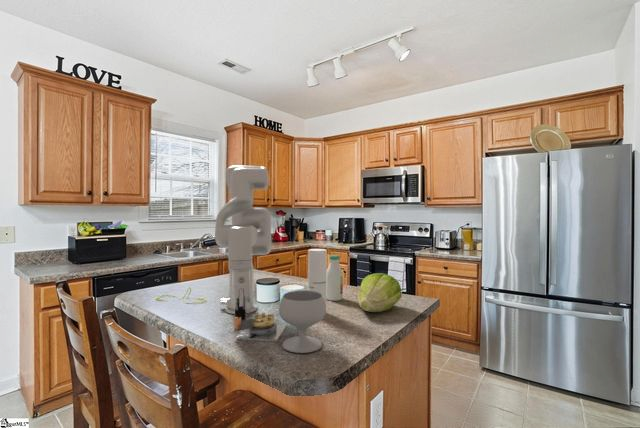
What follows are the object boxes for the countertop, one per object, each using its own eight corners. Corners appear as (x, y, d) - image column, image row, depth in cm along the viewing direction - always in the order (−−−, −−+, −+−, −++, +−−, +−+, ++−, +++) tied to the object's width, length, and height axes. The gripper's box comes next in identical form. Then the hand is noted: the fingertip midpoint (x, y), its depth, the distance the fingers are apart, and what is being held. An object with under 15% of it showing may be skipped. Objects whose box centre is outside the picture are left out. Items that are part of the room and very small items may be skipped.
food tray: (267, 319, 111) (268, 307, 111) (278, 325, 105) (278, 313, 105) (229, 327, 103) (229, 314, 103) (238, 334, 97) (238, 321, 97)
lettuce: (342, 316, 126) (345, 281, 123) (366, 295, 146) (370, 265, 144) (383, 331, 117) (388, 294, 115) (403, 306, 138) (407, 275, 135)
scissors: (151, 300, 145) (151, 290, 145) (167, 295, 154) (168, 285, 154) (198, 305, 137) (198, 294, 137) (212, 299, 147) (212, 289, 147)
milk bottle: (337, 302, 143) (337, 257, 142) (322, 299, 147) (322, 255, 147) (345, 298, 149) (345, 255, 149) (331, 296, 153) (331, 254, 153)
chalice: (335, 348, 94) (335, 296, 94) (294, 360, 86) (294, 304, 86) (309, 333, 105) (309, 287, 105) (270, 343, 97) (270, 293, 97)
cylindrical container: (324, 316, 122) (324, 251, 122) (306, 315, 124) (306, 250, 124) (327, 311, 129) (327, 249, 129) (310, 309, 131) (310, 248, 131)
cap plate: (235, 339, 100) (235, 332, 100) (250, 324, 113) (250, 318, 113) (276, 341, 98) (276, 334, 98) (286, 326, 111) (286, 320, 111)
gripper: (254, 268, 98) (254, 328, 98) (250, 260, 112) (249, 313, 112) (229, 269, 95) (228, 330, 96) (227, 261, 110) (227, 315, 110)
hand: (240, 321), depth 104 cm, fingers closed
